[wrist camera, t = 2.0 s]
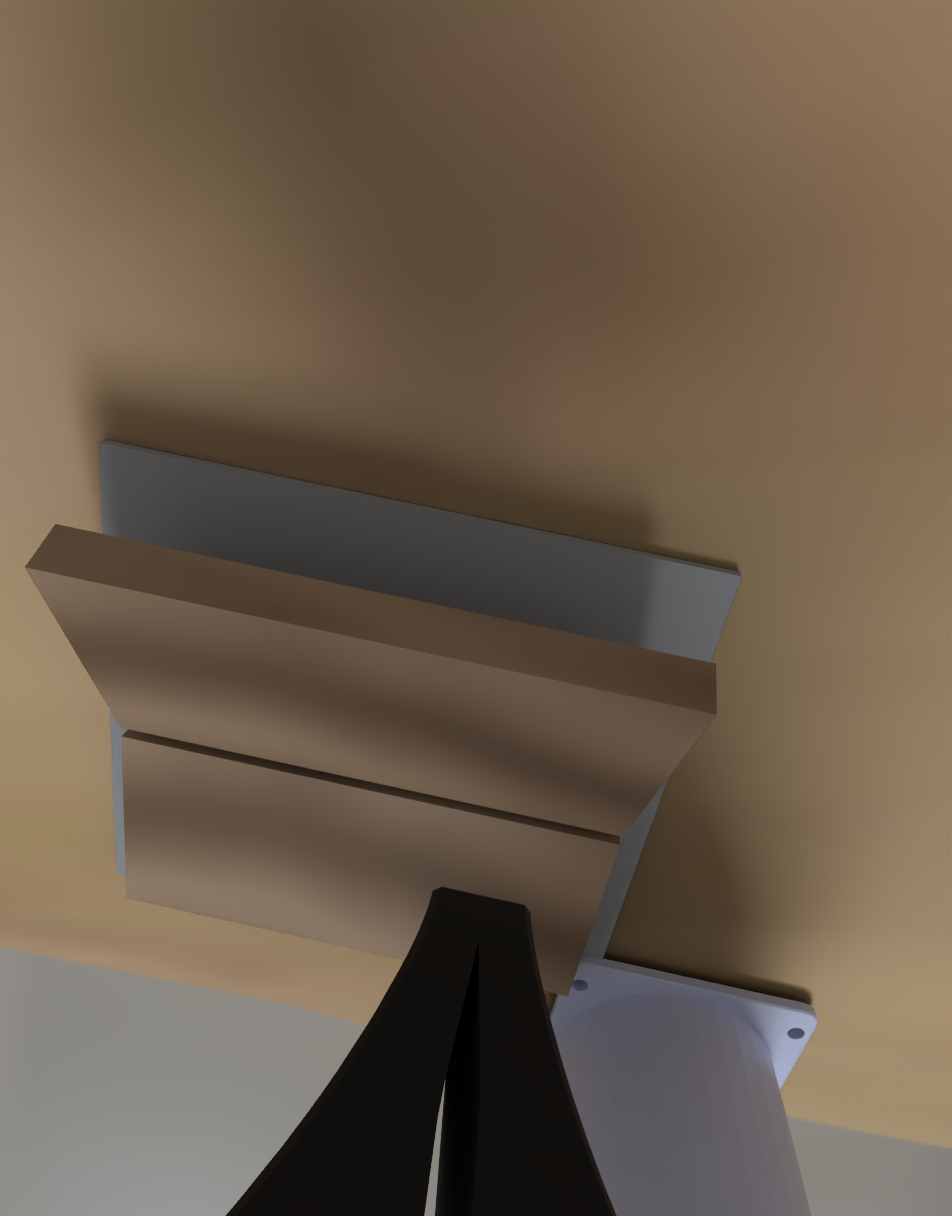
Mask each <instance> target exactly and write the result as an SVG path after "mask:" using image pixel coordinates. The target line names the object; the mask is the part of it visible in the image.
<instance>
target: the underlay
mask: <svg viewBox="0 0 952 1216" xmlns="http://www.w3.org/2000/svg"><path fill="white" fill-rule="evenodd" d="M99 445H100V471H101V496H102V521H103V534H105V535H109V536H114V537H119V538H124V539H128V540H133V541H138V542H143V543H147V544H152V545H157V546H161V547H166V548H171V549H176V550H180V551H185V552H190V553H195V554H199V555H204V556H209V557H214V558H218V559H223V560H228V561H233V562H237V563H242V564H247V565H251V566H256V567H261V568H266V569H270V570H275V571H280V572H285V573H289V574H294V575H299V576H304V577H308V578H313V579H318V580H322V581H327V582H332V583H337V584H341V585H346V586H351V587H356V588H360V589H365V590H370V591H375V592H379V593H384V594H389V595H393V596H398V597H403V598H408V599H412V600H417V601H422V602H427V603H431V604H436V605H441V606H446V607H450V608H455V609H460V610H465V611H469V612H474V613H479V614H483V615H488V616H493V617H498V618H502V619H507V620H512V621H517V622H521V623H526V624H531V625H536V626H540V627H545V628H550V629H554V630H559V631H564V632H569V633H573V634H578V635H583V636H588V637H592V638H597V639H602V640H607V641H611V642H616V643H621V644H626V645H630V646H635V647H640V648H644V649H649V650H654V651H659V652H663V653H668V654H673V655H678V656H682V657H687V658H692V659H697V660H701V661H706V662H711V660H712V657H713V654H714V652H715V649H716V646H717V643H718V641H719V638H720V635H721V632H722V630H723V627H724V624H725V621H726V619H727V616H728V613H729V610H730V608H731V605H732V602H733V599H734V597H735V594H736V591H737V588H738V586H739V583H740V580H741V577H742V576H741V574H740V572H738V571H734V570H729V569H724V568H719V567H714V566H710V565H705V564H700V563H695V562H690V561H686V560H681V559H676V558H671V557H666V556H661V555H657V554H652V553H647V552H642V551H637V550H633V549H628V548H623V547H618V546H613V545H609V544H604V543H599V542H594V541H589V540H585V539H580V538H575V537H570V536H565V535H561V534H556V533H551V532H546V531H541V530H537V529H532V528H527V527H522V526H517V525H513V524H508V523H503V522H498V521H493V520H489V519H484V518H479V517H474V516H469V515H464V514H460V513H455V512H450V511H445V510H440V509H436V508H431V507H426V506H421V505H416V504H412V503H407V502H402V501H397V500H392V499H388V498H383V497H378V496H373V495H368V494H364V493H359V492H354V491H349V490H344V489H340V488H335V487H330V486H325V485H320V484H316V483H311V482H306V481H301V480H296V479H291V478H287V477H282V476H277V475H272V474H267V473H263V472H258V471H253V470H248V469H243V468H239V467H234V466H229V465H224V464H219V463H215V462H210V461H205V460H200V459H195V458H191V457H186V456H181V455H176V454H171V453H167V452H162V451H157V450H152V449H147V448H143V447H138V446H133V445H128V444H123V443H119V442H114V441H109V440H105V441H102V442H100V443H99ZM110 721H111V746H112V771H113V796H114V821H115V847H116V872H117V875H121V876H125V877H126V868H125V838H124V807H123V777H122V746H121V736H122V735H123V734H124V733H125V732H126V731H127V730H128V729H125V728H121V727H120V725H119V724H118V722H117V720H116V719H115V717H114V715H113V714H112V712H111V710H110ZM668 778H669V777H668ZM667 781H668V779H667V780H666V781H665V783H664V784H663V785H662V787H661V788H660V789H659V790H658V792H657V793H656V794H655V796H654V797H653V798H652V800H651V801H650V802H649V804H648V805H647V806H646V808H645V809H644V810H643V811H642V813H641V814H640V815H639V817H638V818H637V819H636V821H635V822H634V823H633V825H632V826H631V827H630V829H629V830H628V831H627V832H626V834H625V835H624V836H623V837H622V836H620V847H619V850H618V853H617V856H616V859H615V862H614V865H613V868H612V871H611V874H610V876H609V879H608V882H607V885H606V888H605V891H604V894H603V897H602V900H601V902H600V905H599V908H598V911H597V914H596V917H595V920H594V923H593V926H592V929H591V931H590V934H589V937H588V940H587V943H586V946H585V949H584V952H583V955H582V956H588V957H593V958H597V959H602V960H603V957H604V954H605V952H606V949H607V946H608V943H609V941H610V938H611V935H612V932H613V930H614V927H615V924H616V921H617V919H618V916H619V913H620V910H621V908H622V905H623V902H624V899H625V897H626V894H627V891H628V888H629V886H630V883H631V880H632V877H633V875H634V872H635V869H636V866H637V864H638V861H639V858H640V855H641V853H642V850H643V847H644V844H645V842H646V839H647V836H648V833H649V830H650V828H651V825H652V822H653V819H654V817H655V814H656V811H657V808H658V806H659V803H660V800H661V797H662V795H663V792H664V789H665V786H666V784H667Z"/></svg>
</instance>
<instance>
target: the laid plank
mask: <svg viewBox="0 0 952 1216" xmlns="http://www.w3.org/2000/svg"><path fill="white" fill-rule="evenodd" d="M121 746H122V777H123V807H124V838H125V868H126V898H128V899H133V900H137V901H142V902H146V903H151V904H155V905H160V906H164V907H169V908H173V909H178V910H182V911H187V912H191V913H196V914H200V915H205V916H209V917H214V918H218V919H222V920H227V921H231V922H236V923H240V924H245V925H249V926H254V927H258V928H263V929H267V930H272V931H276V932H281V933H285V934H290V935H294V936H299V937H303V938H308V939H312V940H317V941H321V942H326V943H330V944H335V945H339V946H344V947H348V948H353V949H357V950H362V951H366V952H371V953H375V954H380V955H384V956H389V957H393V958H397V959H402V960H405V958H406V956H407V954H408V952H409V950H410V948H411V946H412V944H413V942H414V940H415V937H416V935H417V933H418V931H419V929H420V926H421V924H422V921H423V919H424V916H425V914H426V911H427V908H428V905H429V902H430V898H431V895H432V891H433V890H435V889H437V888H440V887H446V888H450V889H455V890H459V891H464V892H468V893H473V894H478V895H482V896H487V897H491V898H496V899H500V900H505V901H509V902H514V903H518V904H523V905H525V906H526V907H527V909H528V910H529V911H530V913H531V924H532V932H533V939H534V945H535V951H536V957H537V962H538V967H539V972H540V977H541V981H542V986H543V990H544V991H546V992H550V993H555V994H559V995H564V996H568V995H569V992H570V989H571V986H572V984H573V981H574V978H575V975H576V972H577V969H578V966H579V963H580V960H581V958H582V955H583V952H584V949H585V946H586V943H587V940H588V937H589V934H590V931H591V929H592V926H593V923H594V920H595V917H596V914H597V911H598V908H599V905H600V902H601V900H602V897H603V894H604V891H605V888H606V885H607V882H608V879H609V876H610V874H611V871H612V868H613V865H614V862H615V859H616V856H617V853H618V850H619V847H620V836H617V835H613V834H608V833H603V832H599V831H594V830H590V829H585V828H580V827H576V826H571V825H567V824H562V823H557V822H553V821H548V820H544V819H539V818H534V817H530V816H525V815H521V814H516V813H511V812H507V811H502V810H498V809H493V808H488V807H484V806H479V805H475V804H470V803H465V802H461V801H456V800H452V799H447V798H442V797H438V796H433V795H429V794H424V793H419V792H415V791H410V790H406V789H401V788H396V787H392V786H387V785H383V784H378V783H373V782H369V781H364V780H360V779H355V778H350V777H346V776H341V775H337V774H332V773H327V772H323V771H318V770H314V769H309V768H304V767H300V766H295V765H291V764H286V763H281V762H277V761H272V760H268V759H263V758H258V757H254V756H249V755H245V754H240V753H235V752H231V751H226V750H222V749H217V748H212V747H208V746H203V745H199V744H194V743H189V742H185V741H180V740H176V739H171V738H166V737H162V736H157V735H153V734H148V733H143V732H139V731H134V730H130V729H128V730H127V731H126V732H125V733H124V734H123V735H122V736H121Z"/></svg>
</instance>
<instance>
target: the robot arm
mask: <svg viewBox="0 0 952 1216" xmlns="http://www.w3.org/2000/svg"><path fill="white" fill-rule="evenodd" d="M581 980H582V981H581ZM817 1023H818V1020H817V1017H816V1014H815V1011H814V1008H812V1007H811V1006H810V1005H808V1004H805V1003H802V1002H798V1001H793V1000H789V999H784V998H780V997H775V996H771V995H766V994H762V993H757V992H753V991H748V990H744V989H739V988H735V987H730V986H726V985H721V984H717V983H712V982H708V981H703V980H699V979H694V978H689V977H685V976H680V975H676V974H671V973H667V972H662V971H658V970H653V969H649V968H644V967H640V966H635V965H631V964H626V963H622V962H617V961H613V960H608V959H604V958H603V960H602V959H597V958H593V957H588V956H582V958H581V960H580V963H579V966H578V969H577V972H576V975H575V978H574V981H573V984H572V986H571V989H570V992H569V995H568V996H564V995H559V994H557V997H556V1000H555V1003H554V1006H553V1009H552V1012H551V1015H549V1011H548V1007H547V1003H546V999H545V995H544V990H543V986H542V981H541V977H540V972H539V967H538V962H537V957H536V951H535V945H534V939H533V932H532V924H531V913H530V911H529V910H528V909H527V907H526V906H525V905H523V904H518V903H514V902H509V901H505V900H500V899H496V898H491V897H487V896H482V895H478V894H473V893H468V892H464V891H459V890H455V889H450V888H446V887H440V888H437V889H435V890H433V891H432V895H431V898H430V902H429V905H428V908H427V911H426V914H425V916H424V919H423V921H422V924H421V926H420V929H419V931H418V933H417V935H416V937H415V940H414V942H413V944H412V946H411V948H410V950H409V952H408V954H407V956H406V958H405V960H404V962H403V964H402V966H401V968H400V970H399V971H398V973H397V975H396V977H395V978H394V980H393V982H392V984H391V985H390V987H389V989H388V991H387V992H386V994H385V996H384V998H383V999H382V1001H381V1003H380V1005H379V1007H378V1008H377V1010H376V1012H375V1013H374V1015H373V1017H372V1018H371V1020H370V1021H369V1023H368V1025H367V1026H366V1028H365V1029H364V1031H363V1032H362V1034H361V1035H360V1037H359V1039H358V1040H357V1042H356V1043H355V1045H354V1046H353V1048H352V1049H351V1051H350V1052H349V1054H348V1055H347V1057H346V1058H345V1060H344V1061H343V1063H342V1065H341V1066H340V1068H339V1069H338V1071H337V1072H336V1074H335V1075H334V1076H333V1078H332V1079H331V1081H330V1082H329V1084H328V1085H327V1086H326V1088H325V1089H324V1091H323V1092H322V1094H321V1095H320V1096H319V1098H318V1099H317V1101H316V1102H315V1103H314V1105H313V1106H312V1107H311V1109H310V1110H309V1112H308V1113H307V1114H306V1116H305V1117H304V1118H303V1120H302V1121H301V1122H300V1124H299V1125H298V1126H297V1128H296V1129H295V1130H294V1132H293V1133H292V1134H291V1135H290V1137H289V1138H288V1140H287V1141H286V1142H285V1143H284V1145H283V1146H282V1147H281V1149H280V1150H279V1151H278V1152H277V1154H276V1155H275V1156H274V1157H273V1159H272V1160H271V1161H270V1162H269V1163H268V1165H267V1166H266V1167H265V1168H264V1170H263V1171H262V1172H261V1174H260V1175H259V1176H258V1177H257V1178H256V1180H255V1181H254V1182H253V1183H252V1185H251V1186H250V1187H249V1188H248V1190H247V1191H246V1192H245V1193H244V1195H243V1196H242V1197H241V1198H240V1200H239V1201H238V1202H237V1203H236V1204H235V1205H234V1207H233V1208H232V1209H231V1210H230V1211H229V1212H228V1214H227V1215H226V1216H424V1213H425V1206H426V1199H427V1191H428V1184H429V1176H430V1169H431V1162H432V1155H433V1147H434V1140H435V1133H436V1125H437V1119H438V1112H439V1108H440V1103H441V1098H442V1092H443V1087H444V1082H445V1092H444V1104H443V1117H442V1131H441V1143H440V1158H439V1171H438V1183H437V1196H436V1209H435V1216H811V1212H810V1208H809V1204H808V1200H807V1197H806V1192H805V1188H804V1185H803V1181H802V1177H801V1173H800V1169H799V1165H798V1161H797V1157H796V1153H795V1149H794V1145H793V1141H792V1137H791V1133H790V1129H789V1125H788V1121H787V1117H786V1113H785V1109H784V1105H783V1101H782V1097H781V1093H780V1089H781V1087H782V1085H783V1084H784V1082H785V1080H786V1078H787V1077H788V1075H789V1073H790V1071H791V1070H792V1068H793V1066H794V1064H795V1063H796V1061H797V1059H798V1057H799V1056H800V1054H801V1052H802V1050H803V1049H804V1047H805V1045H806V1044H807V1042H808V1040H809V1038H810V1037H811V1035H812V1033H813V1031H814V1030H815V1028H816V1026H817ZM445 1078H446V1079H445Z"/></svg>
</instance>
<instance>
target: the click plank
mask: <svg viewBox="0 0 952 1216" xmlns="http://www.w3.org/2000/svg"><path fill="white" fill-rule="evenodd" d="M25 568H26V570H27V572H28V573H29V575H30V577H31V578H32V580H33V582H34V583H35V585H36V587H37V588H38V590H39V592H40V593H41V595H42V597H43V598H44V600H45V602H46V603H47V605H48V607H49V608H50V610H51V612H52V613H53V615H54V617H55V618H56V620H57V622H58V623H59V625H60V627H61V629H62V630H63V632H64V634H65V635H66V637H67V639H68V640H69V642H70V644H71V645H72V647H73V649H74V650H75V652H76V654H77V655H78V657H79V659H80V660H81V662H82V664H83V665H84V667H85V669H86V670H87V672H88V674H89V675H90V677H91V679H92V680H93V682H94V684H95V685H96V687H97V689H98V690H99V692H100V694H101V695H102V697H103V699H104V700H105V702H106V704H107V705H108V707H109V709H110V710H111V712H112V714H113V715H114V717H115V719H116V720H117V722H118V724H119V725H120V727H121V728H125V729H130V730H134V731H139V732H143V733H148V734H153V735H157V736H162V737H166V738H171V739H176V740H180V741H185V742H189V743H194V744H199V745H203V746H208V747H212V748H217V749H222V750H226V751H231V752H235V753H240V754H245V755H249V756H254V757H258V758H263V759H268V760H272V761H277V762H281V763H286V764H291V765H295V766H300V767H304V768H309V769H314V770H318V771H323V772H327V773H332V774H337V775H341V776H346V777H350V778H355V779H360V780H364V781H369V782H373V783H378V784H383V785H387V786H392V787H396V788H401V789H406V790H410V791H415V792H419V793H424V794H429V795H433V796H438V797H442V798H447V799H452V800H456V801H461V802H465V803H470V804H475V805H479V806H484V807H488V808H493V809H498V810H502V811H507V812H511V813H516V814H521V815H525V816H530V817H534V818H539V819H544V820H548V821H553V822H557V823H562V824H567V825H571V826H576V827H580V828H585V829H590V830H594V831H599V832H603V833H608V834H613V835H617V836H622V837H623V836H624V835H625V834H626V832H627V831H628V830H629V829H630V827H631V826H632V825H633V823H634V822H635V821H636V819H637V818H638V817H639V815H640V814H641V813H642V811H643V810H644V809H645V808H646V806H647V805H648V804H649V802H650V801H651V800H652V798H653V797H654V796H655V794H656V793H657V792H658V790H659V789H660V788H661V787H662V785H663V784H664V783H665V781H666V780H667V779H668V777H669V776H670V775H671V773H672V772H673V771H674V770H675V768H676V767H677V766H678V764H679V763H680V762H681V760H682V759H683V758H684V756H685V755H686V754H687V752H688V751H689V750H690V749H691V747H692V746H693V745H694V743H695V742H696V741H697V739H698V738H699V737H700V735H701V734H702V733H703V732H704V730H705V729H706V728H707V726H708V725H709V724H710V722H711V721H712V720H713V718H714V717H715V716H716V664H715V663H711V662H706V661H701V660H697V659H692V658H687V657H682V656H678V655H673V654H668V653H663V652H659V651H654V650H649V649H644V648H640V647H635V646H630V645H626V644H621V643H616V642H611V641H607V640H602V639H597V638H592V637H588V636H583V635H578V634H573V633H569V632H564V631H559V630H554V629H550V628H545V627H540V626H536V625H531V624H526V623H521V622H517V621H512V620H507V619H502V618H498V617H493V616H488V615H483V614H479V613H474V612H469V611H465V610H460V609H455V608H450V607H446V606H441V605H436V604H431V603H427V602H422V601H417V600H412V599H408V598H403V597H398V596H393V595H389V594H384V593H379V592H375V591H370V590H365V589H360V588H356V587H351V586H346V585H341V584H337V583H332V582H327V581H322V580H318V579H313V578H308V577H304V576H299V575H294V574H289V573H285V572H280V571H275V570H270V569H266V568H261V567H256V566H251V565H247V564H242V563H237V562H233V561H228V560H223V559H218V558H214V557H209V556H204V555H199V554H195V553H190V552H185V551H180V550H176V549H171V548H166V547H161V546H157V545H152V544H147V543H143V542H138V541H133V540H128V539H124V538H119V537H114V536H109V535H105V534H100V533H95V532H90V531H86V530H81V529H76V528H72V527H67V526H62V525H57V524H55V526H54V527H53V528H52V530H51V531H50V533H49V534H48V535H47V537H46V538H45V540H44V541H43V542H42V544H41V545H40V547H39V548H38V550H37V551H36V552H35V554H34V555H33V557H32V558H31V559H30V561H29V562H28V564H27V565H26V567H25Z"/></svg>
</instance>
